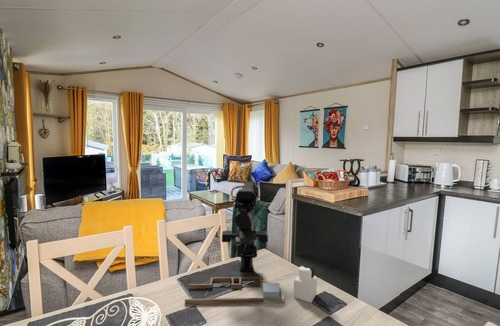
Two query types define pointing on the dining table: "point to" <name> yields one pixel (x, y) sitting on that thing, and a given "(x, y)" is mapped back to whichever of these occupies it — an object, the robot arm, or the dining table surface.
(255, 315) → the dining table surface
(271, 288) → the block
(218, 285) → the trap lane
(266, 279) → the dining table surface
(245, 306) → the dining table surface
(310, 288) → the medicine bottle
